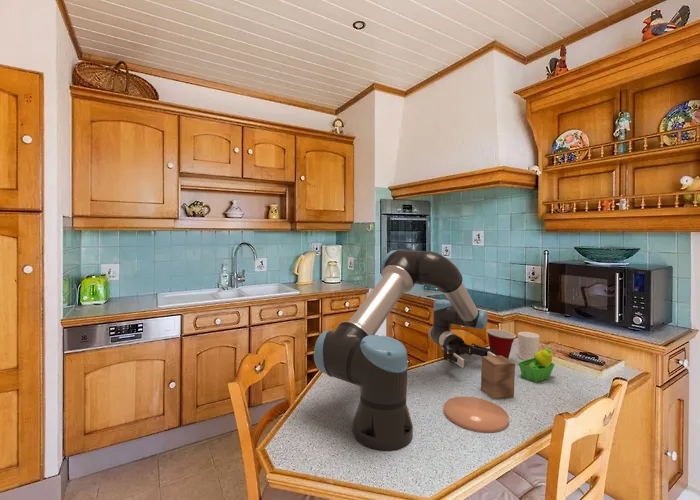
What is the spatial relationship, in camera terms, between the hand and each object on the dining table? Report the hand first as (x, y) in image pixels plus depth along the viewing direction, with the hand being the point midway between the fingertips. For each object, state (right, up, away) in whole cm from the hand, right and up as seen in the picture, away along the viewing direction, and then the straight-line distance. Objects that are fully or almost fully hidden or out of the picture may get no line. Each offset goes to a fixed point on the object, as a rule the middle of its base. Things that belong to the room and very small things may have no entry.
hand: (481, 362), depth 118 cm
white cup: (+28, -6, +23) cm, 37 cm away
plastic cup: (+15, -6, +19) cm, 25 cm away
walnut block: (+2, -7, -9) cm, 11 cm away
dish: (-10, -7, -22) cm, 26 cm away
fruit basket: (+22, -7, +4) cm, 23 cm away
